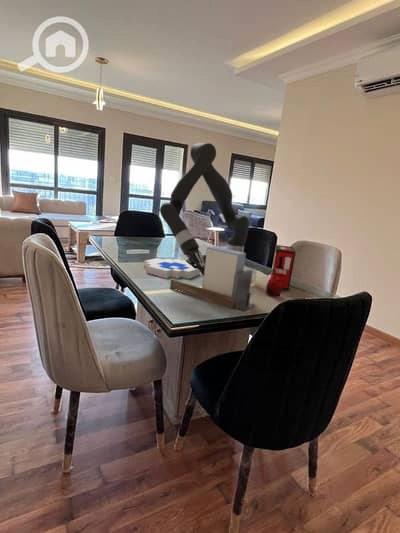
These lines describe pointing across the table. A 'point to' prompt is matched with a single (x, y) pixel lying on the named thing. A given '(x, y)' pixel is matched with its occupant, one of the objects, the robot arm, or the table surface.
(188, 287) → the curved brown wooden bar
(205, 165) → the robot arm
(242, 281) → the bookend
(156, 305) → the table surface
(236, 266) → the book
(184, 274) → the stepped white slab
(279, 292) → the red clay folk toy
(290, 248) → the cleaning product box
